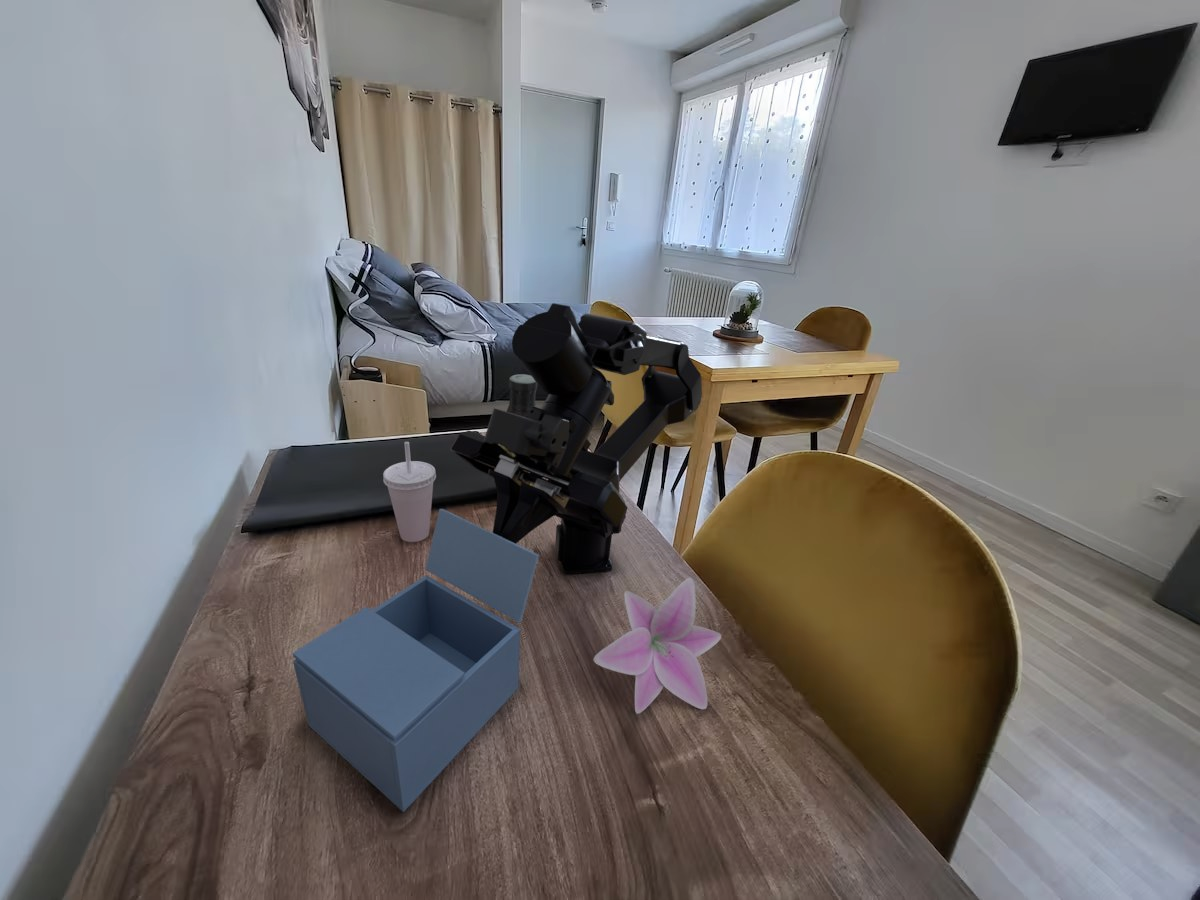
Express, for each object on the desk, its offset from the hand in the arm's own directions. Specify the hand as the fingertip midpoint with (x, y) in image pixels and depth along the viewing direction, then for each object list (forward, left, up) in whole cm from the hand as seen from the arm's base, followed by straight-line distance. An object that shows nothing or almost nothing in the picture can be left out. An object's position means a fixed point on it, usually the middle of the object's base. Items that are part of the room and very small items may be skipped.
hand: (494, 553), depth 47 cm
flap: (+2, +2, 0) cm, 2 cm away
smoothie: (+10, -20, -11) cm, 25 cm away
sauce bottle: (-5, -29, -11) cm, 32 cm away
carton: (+7, +7, -11) cm, 15 cm away
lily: (-15, +8, -11) cm, 20 cm away
